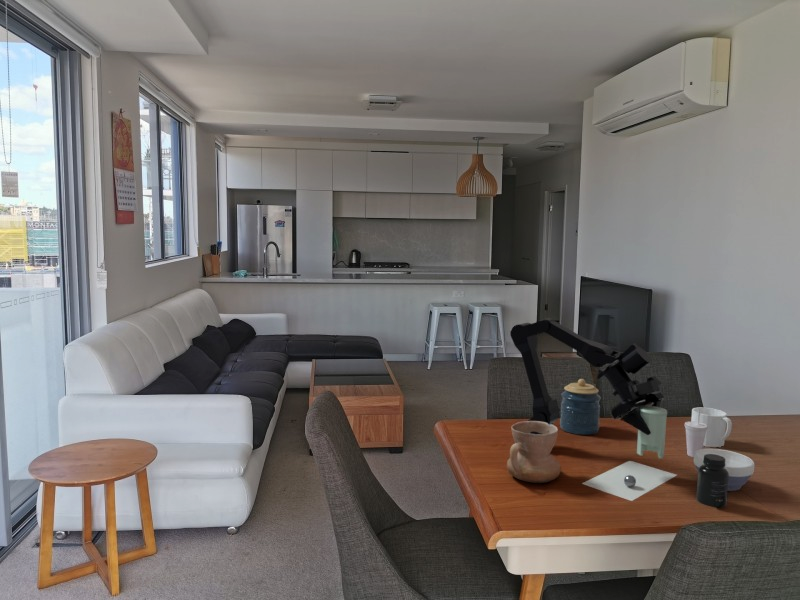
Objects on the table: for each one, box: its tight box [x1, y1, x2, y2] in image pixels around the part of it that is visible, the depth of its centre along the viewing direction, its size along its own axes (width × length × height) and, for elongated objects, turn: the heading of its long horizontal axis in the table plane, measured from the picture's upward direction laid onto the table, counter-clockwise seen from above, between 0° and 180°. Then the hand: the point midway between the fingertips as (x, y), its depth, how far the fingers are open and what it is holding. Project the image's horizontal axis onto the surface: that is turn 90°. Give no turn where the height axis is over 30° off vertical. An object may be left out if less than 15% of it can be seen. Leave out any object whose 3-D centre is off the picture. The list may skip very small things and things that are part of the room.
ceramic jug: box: [506, 420, 562, 484], centre depth 169 cm, size 18×14×14 cm
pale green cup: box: [636, 406, 668, 459], centre depth 169 cm, size 7×7×12 cm
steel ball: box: [624, 475, 636, 487], centre depth 163 cm, size 3×3×3 cm
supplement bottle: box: [695, 454, 729, 509], centre depth 155 cm, size 7×7×12 cm
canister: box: [559, 378, 602, 436], centre depth 211 cm, size 13×13×18 cm
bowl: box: [693, 448, 755, 492], centre depth 167 cm, size 14×14×8 cm
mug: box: [690, 406, 733, 448], centre depth 200 cm, size 13×10×10 cm
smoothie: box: [684, 411, 708, 458], centre depth 188 cm, size 6×6×14 cm
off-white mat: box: [581, 460, 678, 502], centre depth 168 cm, size 26×14×1 cm, turn 132°
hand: (656, 431), depth 168 cm, fingers closed on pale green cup, 7 cm apart
